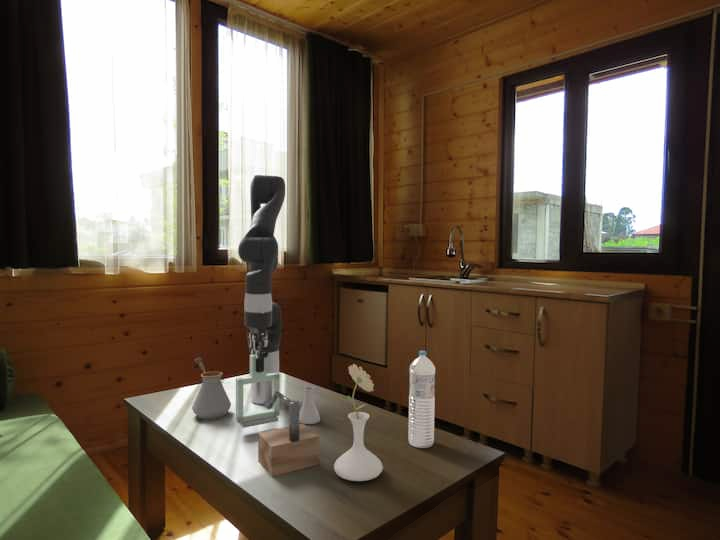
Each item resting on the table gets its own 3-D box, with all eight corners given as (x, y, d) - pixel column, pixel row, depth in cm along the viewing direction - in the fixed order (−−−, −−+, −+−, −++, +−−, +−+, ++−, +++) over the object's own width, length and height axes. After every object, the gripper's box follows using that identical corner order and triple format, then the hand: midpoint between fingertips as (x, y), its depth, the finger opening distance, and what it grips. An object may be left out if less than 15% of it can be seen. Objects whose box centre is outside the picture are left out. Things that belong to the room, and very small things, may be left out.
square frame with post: (234, 422, 131) (234, 355, 130) (274, 414, 137) (275, 350, 136) (239, 428, 127) (239, 359, 126) (281, 420, 133) (281, 354, 132)
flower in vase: (389, 482, 105) (391, 372, 103) (340, 489, 101) (341, 376, 100) (371, 457, 117) (372, 358, 116) (327, 462, 114) (327, 361, 112)
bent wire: (260, 414, 126) (260, 381, 126) (269, 412, 128) (269, 380, 127) (291, 442, 109) (291, 404, 108) (301, 440, 110) (301, 402, 109)
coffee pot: (236, 417, 143) (236, 368, 142) (197, 424, 137) (197, 374, 136) (215, 397, 161) (215, 354, 160) (180, 403, 154) (180, 359, 154)
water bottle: (418, 436, 130) (420, 347, 129) (439, 443, 125) (440, 351, 124) (403, 443, 125) (404, 351, 124) (423, 451, 121) (425, 355, 119)
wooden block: (258, 461, 114) (258, 432, 114) (303, 450, 121) (303, 423, 120) (271, 476, 107) (271, 446, 106) (318, 464, 113) (318, 436, 112)
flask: (316, 426, 137) (316, 392, 136) (293, 424, 138) (293, 390, 138) (323, 417, 144) (323, 385, 143) (301, 415, 145) (301, 383, 145)
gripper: (237, 306, 134) (237, 366, 135) (253, 313, 122) (253, 378, 123) (262, 305, 138) (262, 363, 139) (280, 311, 126) (279, 375, 127)
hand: (258, 370), depth 131 cm, fingers closed on square frame with post, 2 cm apart
